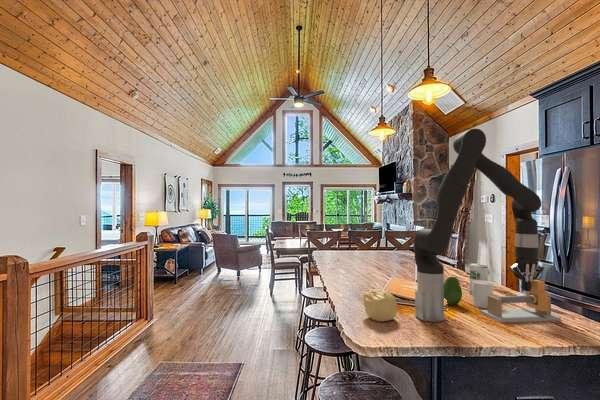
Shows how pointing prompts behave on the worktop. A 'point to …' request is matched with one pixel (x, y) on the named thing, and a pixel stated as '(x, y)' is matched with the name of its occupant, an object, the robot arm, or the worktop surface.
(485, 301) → the white cup
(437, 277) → the robot arm
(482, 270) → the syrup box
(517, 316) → the pipe stand
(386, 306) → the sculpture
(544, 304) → the collar
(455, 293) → the avocado
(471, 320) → the worktop surface
